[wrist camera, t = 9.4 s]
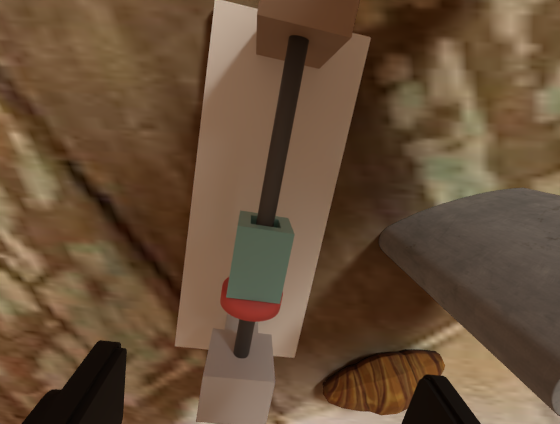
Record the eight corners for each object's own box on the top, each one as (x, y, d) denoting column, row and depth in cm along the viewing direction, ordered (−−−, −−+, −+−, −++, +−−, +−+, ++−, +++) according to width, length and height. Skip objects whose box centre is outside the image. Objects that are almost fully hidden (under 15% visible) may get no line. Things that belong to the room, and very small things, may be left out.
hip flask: (381, 258, 29) (622, 499, 10) (374, 221, 28) (630, 413, 9) (533, 213, 29) (1056, 369, 10) (532, 175, 28) (1118, 268, 9)
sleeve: (240, 210, 21) (237, 225, 18) (288, 218, 22) (294, 234, 18) (230, 272, 23) (226, 297, 19) (276, 278, 23) (280, 303, 20)
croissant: (432, 325, 32) (463, 360, 27) (438, 373, 34) (468, 413, 29) (313, 359, 32) (323, 399, 27) (326, 405, 34) (338, 450, 29)
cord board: (217, 5, 22) (191, -82, 13) (365, 41, 24) (433, -14, 15) (177, 337, 30) (143, 429, 21) (292, 349, 31) (308, 439, 22)
